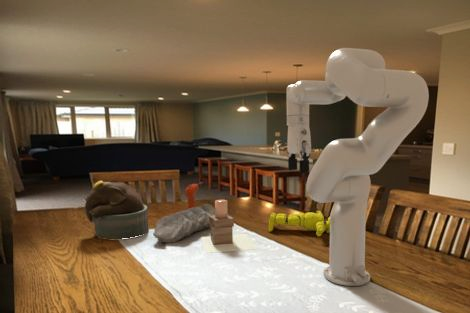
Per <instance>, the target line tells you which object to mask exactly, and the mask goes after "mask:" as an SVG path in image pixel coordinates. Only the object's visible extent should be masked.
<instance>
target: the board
mask: <svg viewBox="0 0 470 313" xmlns="http://www.w3.org/2000/svg"><path fill="white" fill-rule="evenodd" d="M200 240H201V242H202V246H203V249H204V251H205V254H210V253H212V254H213V253H222V252H223V253H224V252H237V251H249V250H250V251H251V250H258V249H259V248H258V246H256V244H255V243H254V242H253V240H252V238H250V236H249V235H248V234H247V233H240V234H233V244H220V245H213V243H212V241H211V235H209V236H208V235H207V236H200Z"/></svg>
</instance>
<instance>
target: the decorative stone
mask: <svg viewBox="0 0 470 313" xmlns="http://www.w3.org/2000/svg"><path fill="white" fill-rule="evenodd" d="M213 215H215V207H213V205H212V204H208V203H207V204H201V205H198V206H196V207H194V208H190V209H188V208H187V209H185V210H184V209H183V210H180V211H177V212H175V213H170V214H168V215H165V216H164V217H161V219H159V220H158V221H157V222H156V223H155V227H154V232H153V233H152V235H153V236H154V238H155V239H157V240H158V241H159V242H160V243H164V244H166V243H177V242H180V240H182V239H183V238H188V237H190V236H191V234H193V233H196V232H199V231H202V230H204V229H210V228H211V225H210V224H209V216H213Z"/></svg>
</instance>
